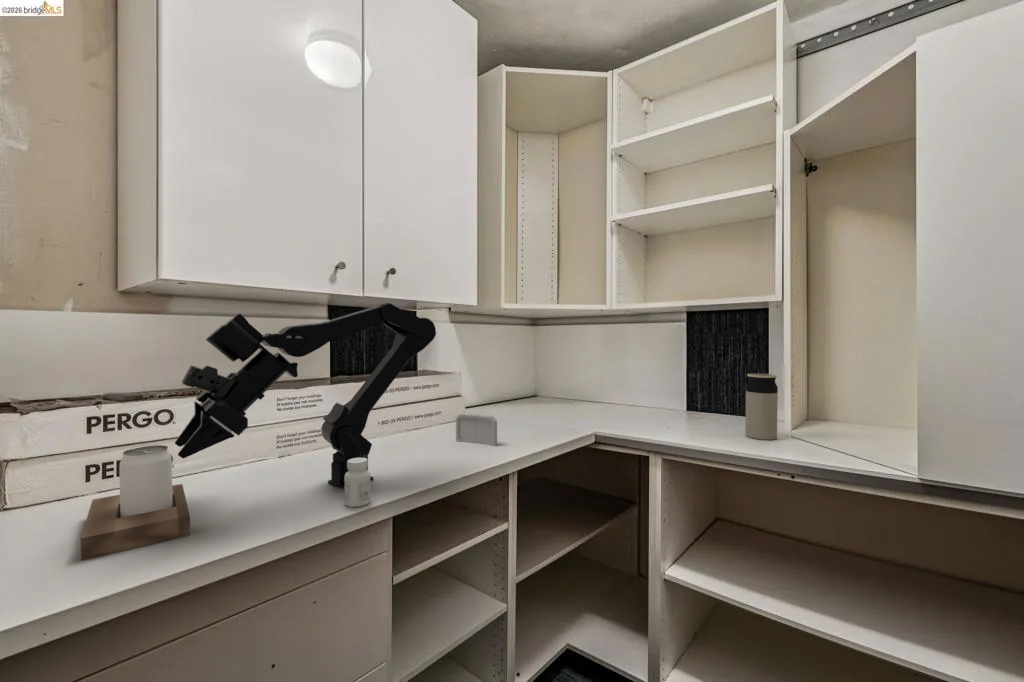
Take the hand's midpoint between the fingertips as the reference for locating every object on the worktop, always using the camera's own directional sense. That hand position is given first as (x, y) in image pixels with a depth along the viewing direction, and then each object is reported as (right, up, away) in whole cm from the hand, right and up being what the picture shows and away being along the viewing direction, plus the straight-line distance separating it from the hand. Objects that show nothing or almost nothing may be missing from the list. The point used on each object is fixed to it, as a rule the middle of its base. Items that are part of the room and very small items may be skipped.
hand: (178, 450), depth 75 cm
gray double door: (+45, -10, +49) cm, 68 cm away
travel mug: (+127, -10, +56) cm, 139 cm away
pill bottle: (+27, -11, +7) cm, 30 cm away
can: (-3, -11, -2) cm, 12 cm away
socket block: (-3, -11, -2) cm, 12 cm away
